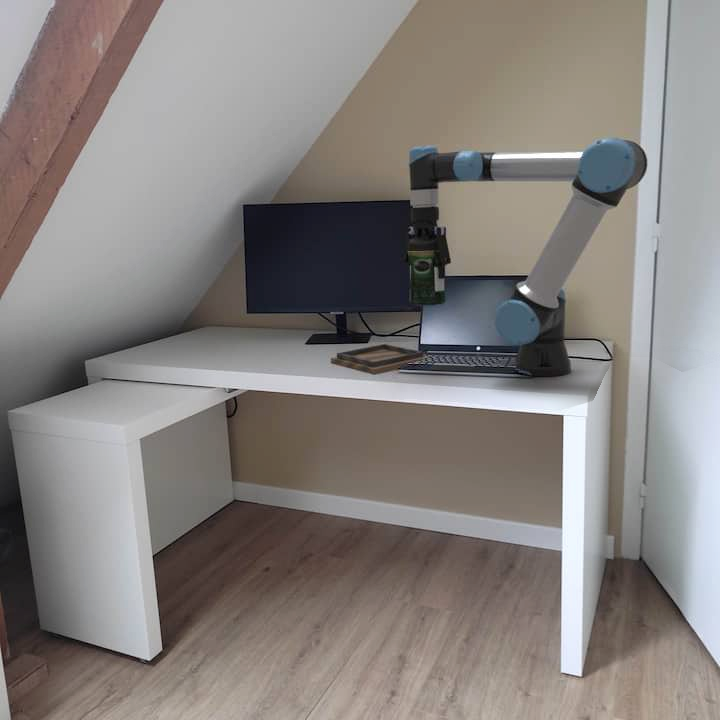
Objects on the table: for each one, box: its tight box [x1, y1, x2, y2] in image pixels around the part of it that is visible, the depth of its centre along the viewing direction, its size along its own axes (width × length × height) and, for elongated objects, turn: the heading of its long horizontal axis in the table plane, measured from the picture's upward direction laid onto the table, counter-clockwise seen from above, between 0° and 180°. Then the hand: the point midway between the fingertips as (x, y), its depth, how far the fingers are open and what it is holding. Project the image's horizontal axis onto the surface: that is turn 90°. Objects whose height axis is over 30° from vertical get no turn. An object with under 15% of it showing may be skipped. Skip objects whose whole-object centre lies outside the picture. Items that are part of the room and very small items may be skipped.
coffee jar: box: [408, 237, 446, 307], centre depth 200 cm, size 10×8×19 cm
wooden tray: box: [330, 343, 431, 375], centre depth 221 cm, size 22×21×3 cm
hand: (427, 289), depth 201 cm, fingers closed on coffee jar, 9 cm apart
